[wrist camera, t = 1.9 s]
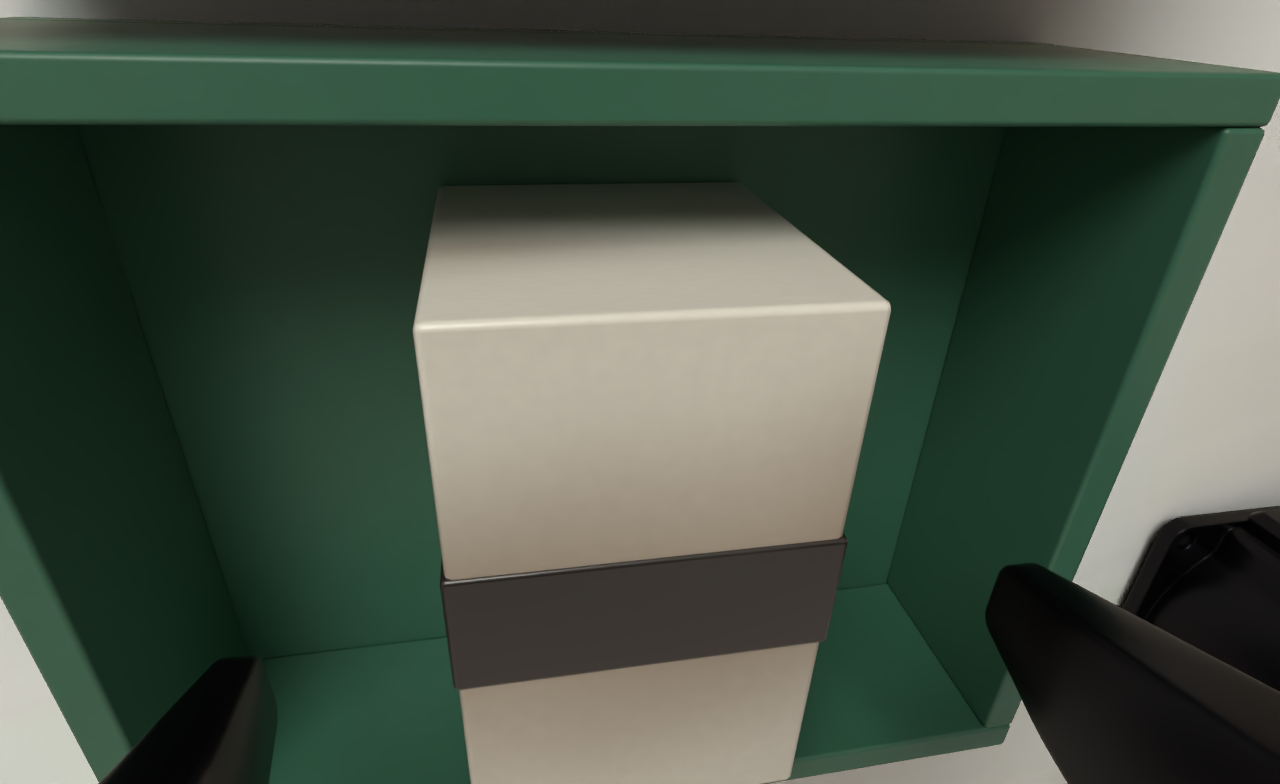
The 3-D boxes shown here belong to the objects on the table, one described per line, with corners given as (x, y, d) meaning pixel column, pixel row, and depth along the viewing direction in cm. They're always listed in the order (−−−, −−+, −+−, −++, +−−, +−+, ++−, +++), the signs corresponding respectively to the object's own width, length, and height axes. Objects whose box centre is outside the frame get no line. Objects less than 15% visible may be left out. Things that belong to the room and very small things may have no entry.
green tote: (893, 583, 18) (1003, 745, 14) (232, 663, 16) (152, 889, 12) (1040, 42, 12) (1293, 74, 9) (11, 16, 10) (-299, 46, 6)
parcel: (705, 554, 16) (796, 784, 11) (473, 578, 15) (472, 839, 11) (743, 179, 12) (903, 304, 8) (433, 183, 11) (405, 327, 7)
